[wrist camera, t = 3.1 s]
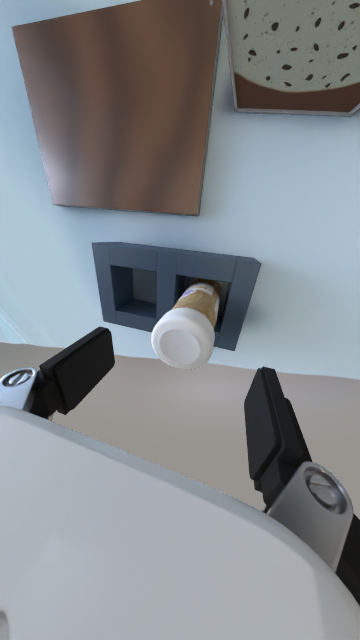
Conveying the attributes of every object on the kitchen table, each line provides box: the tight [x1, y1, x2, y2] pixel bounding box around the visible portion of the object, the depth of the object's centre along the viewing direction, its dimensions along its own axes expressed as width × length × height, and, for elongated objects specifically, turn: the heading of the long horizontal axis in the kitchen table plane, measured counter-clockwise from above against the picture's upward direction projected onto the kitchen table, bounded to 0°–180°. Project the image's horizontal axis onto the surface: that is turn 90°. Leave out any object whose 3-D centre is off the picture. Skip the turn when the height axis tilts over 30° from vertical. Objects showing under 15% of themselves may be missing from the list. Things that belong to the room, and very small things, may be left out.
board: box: [12, 0, 223, 216], centre depth 17 cm, size 20×14×1 cm
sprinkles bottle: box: [151, 278, 221, 370], centre depth 17 cm, size 5×5×13 cm
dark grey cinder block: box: [92, 242, 261, 351], centre depth 22 cm, size 19×10×5 cm, turn 85°
